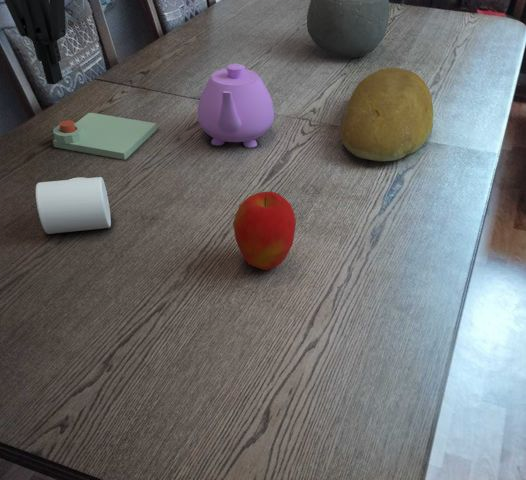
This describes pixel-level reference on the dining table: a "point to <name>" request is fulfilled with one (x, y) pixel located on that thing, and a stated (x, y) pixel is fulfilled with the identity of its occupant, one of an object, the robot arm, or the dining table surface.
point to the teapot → (235, 106)
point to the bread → (388, 115)
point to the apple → (265, 229)
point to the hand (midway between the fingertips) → (55, 81)
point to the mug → (73, 205)
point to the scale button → (67, 126)
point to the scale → (105, 135)
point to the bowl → (347, 25)
